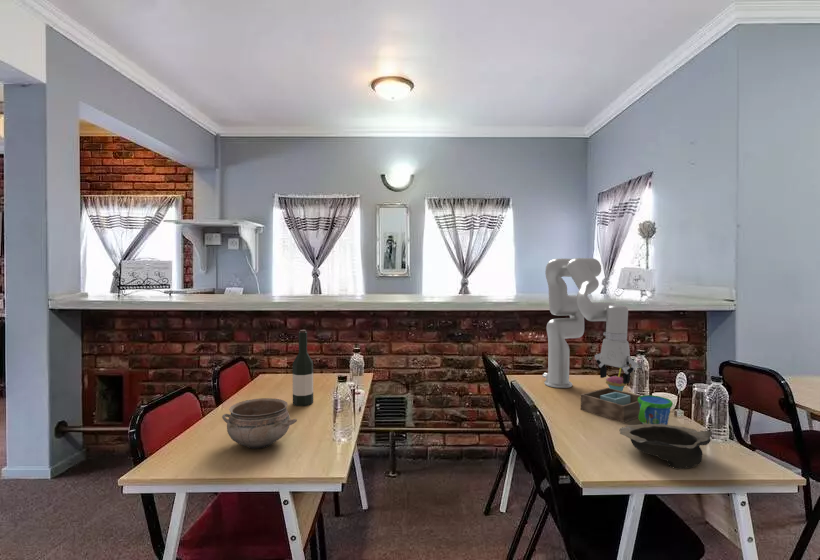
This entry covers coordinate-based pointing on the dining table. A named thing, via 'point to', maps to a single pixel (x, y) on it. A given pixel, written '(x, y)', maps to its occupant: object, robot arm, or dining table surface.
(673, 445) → the stone bowl
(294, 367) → the wine bottle
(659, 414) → the snack cup
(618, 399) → the small crate
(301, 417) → the dining table surface
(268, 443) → the cooking pot
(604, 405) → the big crate
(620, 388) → the cupcake
